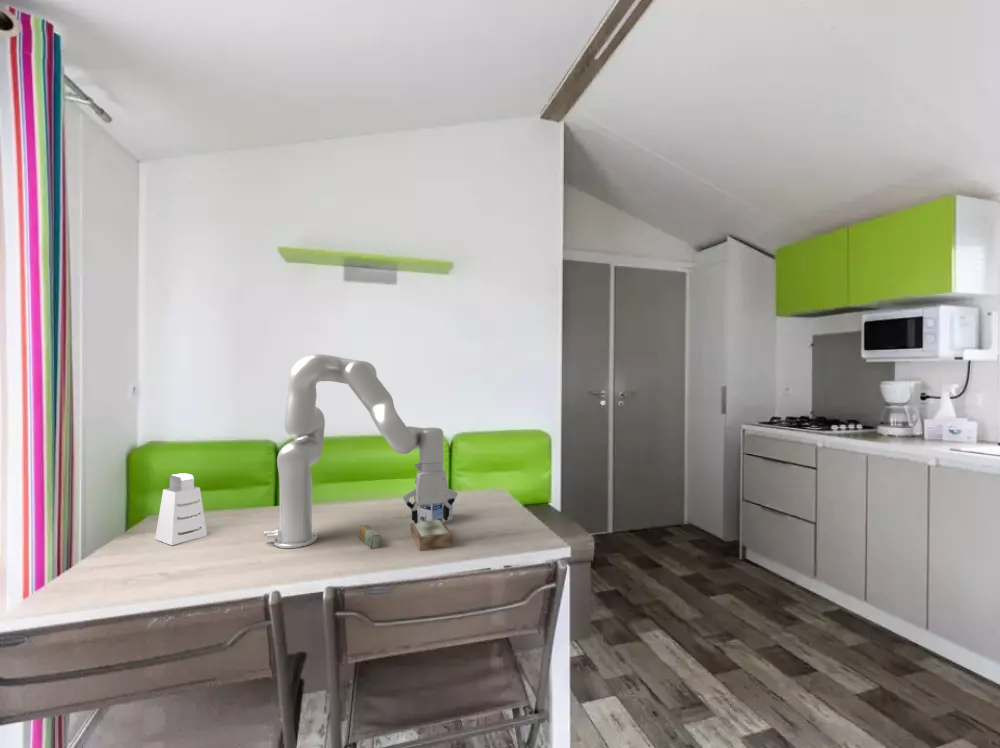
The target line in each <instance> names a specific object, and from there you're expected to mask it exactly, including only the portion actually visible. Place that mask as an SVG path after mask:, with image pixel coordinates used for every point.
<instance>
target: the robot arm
mask: <svg viewBox="0 0 1000 748" xmlns="http://www.w3.org/2000/svg"><path fill="white" fill-rule="evenodd" d="M288 376H289V377H288V385H287V387H288V388H287V397H286V406H285V414H284V422H283V423H284V429H285V432H286V433H287V435H290V436H291V437H294V439H293V441H291V442H288V443H286V444H285V445H284V446H282V448H280V450H279V452H278V454H277V458H276V463H277V465H276V466H277V470H278V479H279V481H278V483H279V484H278V485H279V519H278V520H279V526H278V528H275V529H274V530H265V531H263V538H265V539H267V540H269V539H270V540H271V539H273V545H274V546H275V547H277V548H279V549H280V548H281V549H295V548H303V547H305V546H309V545H312V544H313V543H315V542H316V541H317V540H318V534H317V533H315V532H313V477H312V476H313V475H312V472H311V466H314V465H315V464H316V463H317V462H319V460H320V458H321V457H322V454H323V448H324V447H323V446H324V436H325V427H326V426H325V425H326V423H325V422H326V419H325V415H324V412H323V411H322V410H321V409H320V408H319V407H317V406H316V405H317V403H316V401H317V384H318V383H320V382H333V383H339V384H345V385H348V387H349V388H350V390H352V392H353V393H354V394H355V395H356V397H357V398H358V400H359V401H360V402H361V403H362V405H363V406H364V407H365V409H366V410H367V412H368V413H369V415H370V417H371V419H372V421H373V422H374V424H375V426H376V428H377V430H378V431H379V433H380V435H382V437H383V438H384V439H385V441H386V442H387V444H389V446H390V447H391V448H392V449H393V450H394V451H395V452H396V453H398V454H402V455H406V454H409V453H411V452H412V451H413V450H416V449H418V453H419V455H418V456H419V457H418V458H419V459H418V463H415V464H414V469H416V470H418V471H416V476H415V479H414V481H415V483H414V489H413V490H412V491H410V492H409V493H406V494H405V495H403V497H402V499H403V500H404V503H405V504H406V506H407V507H408V508H410V510H411V521H413V523H415V524H417V523H418V522H419V519H418V518H419V517H418V516H419V515H418V514H419V513H418V508H419V507H420V505H430V504H441V503H444V506H443V518H444V519H445V520H446V522H448V521H447V520H448V517H449V508H450V506H451V505H452V504H454V502H455V500H456V498H457V496H458V492H457V491H456V490H453V489H451V488H448V477H447V473H446V470H444V430H443V429H442V428H440V427H417V426H407V425H406V423H405V422H404V421H403V420H402V418H401V417H400V416H399V415H400V414H398V413H397V411H396V408H395V405H394V399H393V397H392V395H391V393H390V392H389V391H388V390H387V388H386V387H385V385H384V384H383V383H382V381H380V379H379V378H378V377H377V370H376V368H375V366H374V365H373V364H372V363H370V362H368V361H365V360H357V359H356V360H355V359H352V358H351V359H350V358H346V357H340V356H335V355H329V354H322V353H321V354H320V353H318V354H317V353H316V354H312V355H308V356H305V357H303V358H301V359H300V360H298V361H297V362H295V364H294V365H293V366H292V367H291V370H290V373H289V375H288ZM448 493H449V494H452V496H451V498H450V499H449V500H448ZM412 497H413V498H414V501H413V502H412V503H411V501H410V499H411V498H412ZM447 500H448V501H447ZM302 546H303V547H302Z"/></svg>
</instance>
